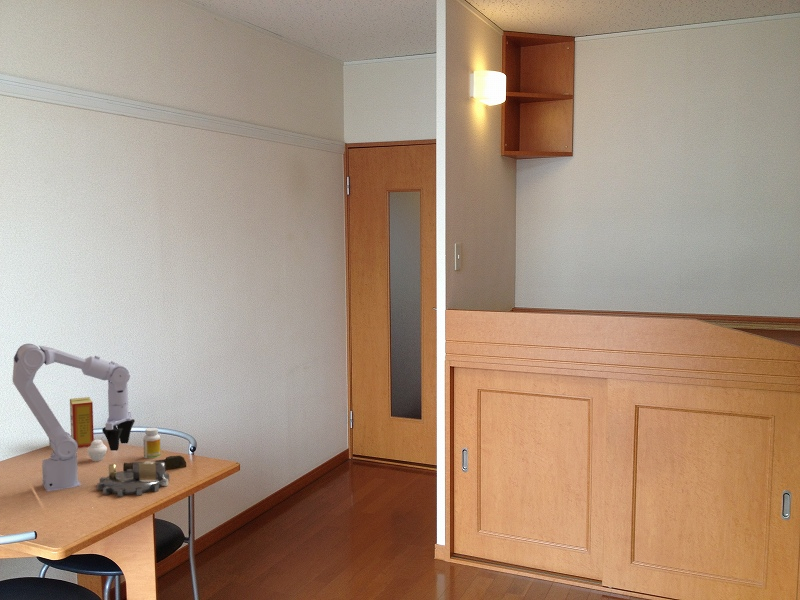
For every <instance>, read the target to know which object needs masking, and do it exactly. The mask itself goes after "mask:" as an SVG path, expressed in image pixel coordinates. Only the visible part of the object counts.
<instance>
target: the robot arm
mask: <svg viewBox="0 0 800 600" xmlns="http://www.w3.org/2000/svg"><path fill="white" fill-rule="evenodd" d="M54 363H58V364H62V365H65V366H69V367H72V368H76V369H80V370H81V372H82V373H83V375H85V376H88V377H92V378H94V379H98V380H101V381H107V387H108V389H107V394H108V395H107V400H108V402H107V403H108V406H107V407H108V418H107V421H106V422H105V425H104V427H103V428H102V429H101V430H102V433H103V434H104V436H105V438H106V440H107V444H108V447H109V450H110V451H112V452H113V451H118V450H119V446H120V444H128V443H129V441H130V436H131V432H132V428H133V426H134V424H135V419H133V416H132V411H129V389H128V382H129V380H130V378H131V375H130V372H129V370H128V369H127V368H126V367H125V366H123V365H121V364H119V363H118V362H117V363H116V362H115V361H112V360H111V361H107V360H104V359H101V357H100V356H98V355H94V356H89V357H86V358H83V357H79V356H78V355H74V354H71V353H68V352H64V351H62V350H59V349H55V348H53V347H50V346H49V347H48V346H44V345H38V346H37V345H36V344H33V343H25V344H22V345H20V346H19V347H18V348H17V350H16V352H15V354H14V356H13V370H12V384H13V385H14V387H15V389H17V392H18V393H19V394H20V396H21V397H22V399H23V400H24V402H25V403H26V405H27V407H28V408H29V410H30V411H31V413H32V414H33V416H34V417H35V419H36V421H37V422H38V423H39V425H40V426H41V428H42V429H43V431H44V433H45V434H46V436H47V437H48V441H49V444H48V445H49V447H50V449H51V450H52V452H51V454H50V457H49V458H47V459H46V458H45V459H43V460H42V463H41V464H42V465H41V469H42V473H41V475H42V486H43V487H44V489H45V491H46V492H53V491H58V490H65V489H70V488H76V487H81V486H82V484H81V482H80V481H79V480H78V479H79V477H78V473H79V471H78V454H77V452H78V445H77V442H76V441H75V440H74V439H72V437H71V433H69V432H67V431H66V430H65V429H64V428H63V427H62V425H61V423H60V422H59V420H58V418H57V416H55V413H54V412H53V411H52V409H51V408H50V406H49V405H48V403H47V401H46V400H45V398H44V397H43V395H42V393H41V392H40V391H39V389H38V387H37V385H36V384H35V382H34V379H35V377H36V375H37V372H38V371H39V370H40V368H42V366H43V365H46V366H48V365H50V364H54Z"/></svg>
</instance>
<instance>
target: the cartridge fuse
mask: <svg viewBox="0 0 800 600" xmlns="http://www.w3.org/2000/svg"><path fill="white" fill-rule="evenodd" d="M154 461H155V460H149V461H148V460H146V461H142V460H141V461H140V460H138V461H137V460H136V461H135V462H134V463H133V462H132V463H133V479H156V480H161V479H164V478H165V474H166V470H165V462H154Z"/></svg>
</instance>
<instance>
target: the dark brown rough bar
mask: <svg viewBox="0 0 800 600" xmlns="http://www.w3.org/2000/svg"><path fill="white" fill-rule="evenodd" d="M153 461H154V462H165V471H170V470H178V469H182V468H186V467H187V461H186V459H185V458H184V457H183V456H182V455H170V456H167V457H165V459H164V458H163V459H157V460H153ZM133 463H134V462H124V463H123V464H122V465H123V468H122V469H123V471H127V469H132V470H133ZM123 471H122V472H123Z"/></svg>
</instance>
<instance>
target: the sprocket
mask: <svg viewBox="0 0 800 600" xmlns="http://www.w3.org/2000/svg"><path fill="white" fill-rule="evenodd" d="M116 465H117V464H116V463H111V464H110V463H109V464H108V476H103V477H102V476H101V477H100V478H99V482H98V483H96V484H97V485H96V486H97V487H96V488H97V491H102V494H103V495H105V496H108V495H115V496H117V497H119V498H121V497H122V498H123V497H124V496H130V495H131V496H133V495H136V496H142V495H143V494H146V493H149V492H158V491H159V490H160V488H161V487H167V486H168V485H169V481H170V473H168V472H165V478H164V479H161V480H156V479H133V470H132V469H127V471H120V472H119V471H118V472H117V466H116Z"/></svg>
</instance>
